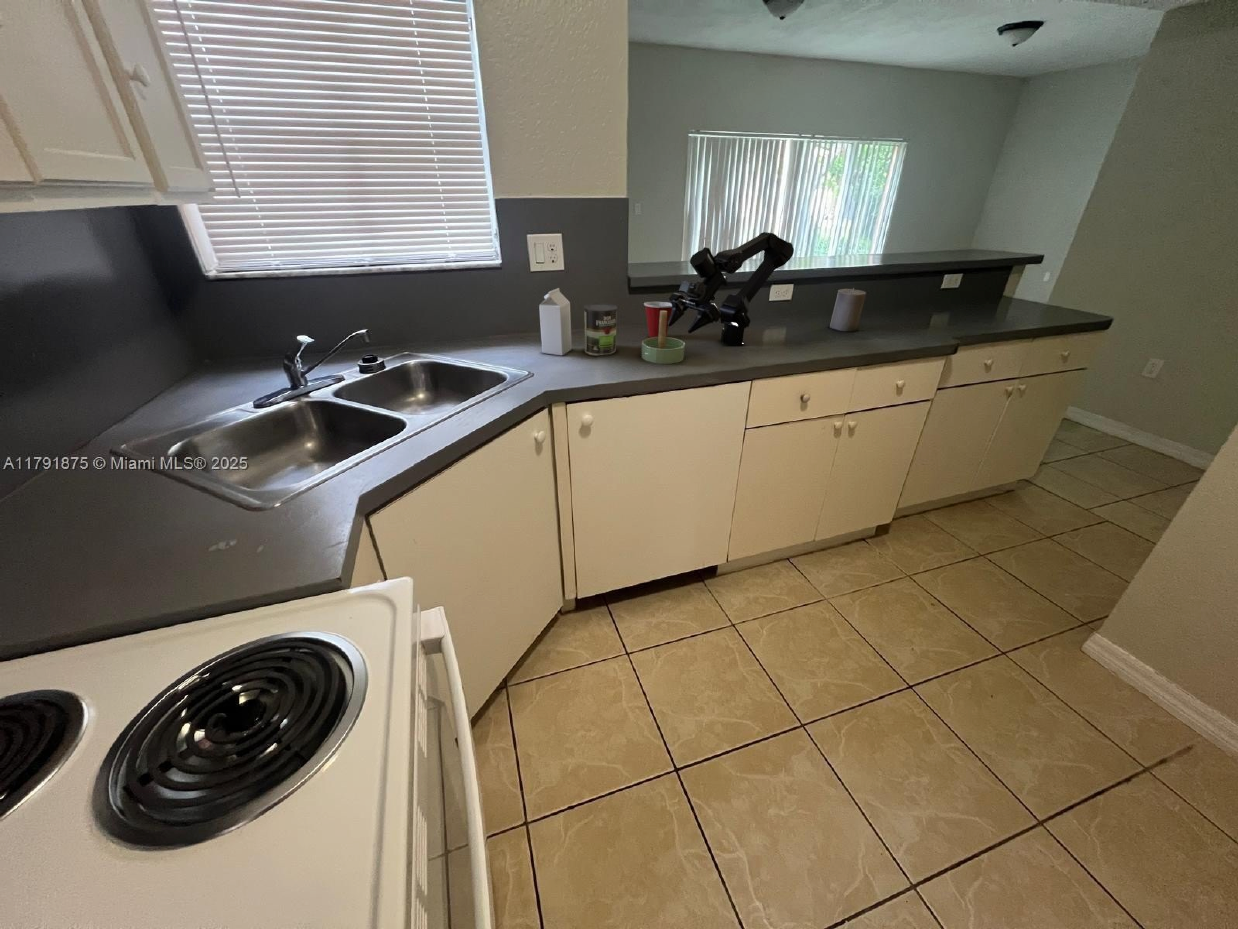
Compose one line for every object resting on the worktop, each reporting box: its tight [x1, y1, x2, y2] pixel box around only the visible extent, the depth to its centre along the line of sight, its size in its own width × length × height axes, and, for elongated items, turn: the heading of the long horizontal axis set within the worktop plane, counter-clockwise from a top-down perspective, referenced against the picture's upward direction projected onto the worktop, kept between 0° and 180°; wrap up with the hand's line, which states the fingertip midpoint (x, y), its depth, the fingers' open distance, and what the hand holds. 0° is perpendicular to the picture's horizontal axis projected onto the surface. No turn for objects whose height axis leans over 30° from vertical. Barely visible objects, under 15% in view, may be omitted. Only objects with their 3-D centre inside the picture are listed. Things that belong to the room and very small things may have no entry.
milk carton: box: [538, 287, 572, 356], centre depth 151 cm, size 7×7×19 cm
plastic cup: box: [643, 301, 672, 338], centre depth 169 cm, size 11×11×12 cm
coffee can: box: [583, 302, 618, 357], centre depth 154 cm, size 10×10×14 cm
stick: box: [658, 310, 667, 349], centre depth 148 cm, size 5×5×14 cm
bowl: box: [640, 336, 686, 365], centre depth 151 cm, size 13×13×5 cm
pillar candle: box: [829, 287, 867, 333], centre depth 183 cm, size 10×10×15 cm
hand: (678, 328), depth 151 cm, fingers open, 9 cm apart
